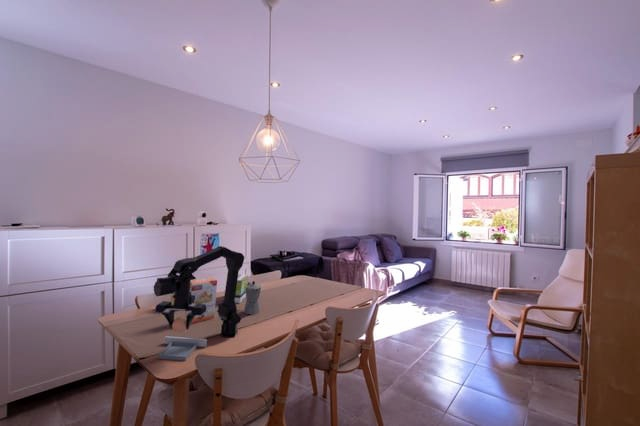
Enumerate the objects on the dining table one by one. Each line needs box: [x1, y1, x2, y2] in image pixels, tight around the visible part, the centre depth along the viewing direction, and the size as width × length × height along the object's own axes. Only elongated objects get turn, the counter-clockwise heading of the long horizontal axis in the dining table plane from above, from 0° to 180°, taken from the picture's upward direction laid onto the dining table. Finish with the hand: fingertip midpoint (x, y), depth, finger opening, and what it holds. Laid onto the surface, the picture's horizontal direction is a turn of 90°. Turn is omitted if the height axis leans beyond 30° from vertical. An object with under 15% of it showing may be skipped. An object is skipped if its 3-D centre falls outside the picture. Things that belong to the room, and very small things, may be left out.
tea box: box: [235, 273, 249, 304], centre depth 191 cm, size 15×10×15 cm
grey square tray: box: [157, 342, 198, 361], centre depth 122 cm, size 11×11×2 cm
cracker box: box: [184, 277, 218, 324], centre depth 155 cm, size 14×6×21 cm, turn 138°
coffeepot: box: [243, 281, 262, 315], centre depth 172 cm, size 15×9×18 cm, turn 33°
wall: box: [164, 335, 208, 348], centre depth 128 cm, size 18×1×3 cm, turn 90°
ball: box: [171, 316, 187, 334], centre depth 121 cm, size 6×6×6 cm
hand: (180, 328), depth 122 cm, fingers closed on ball, 6 cm apart
